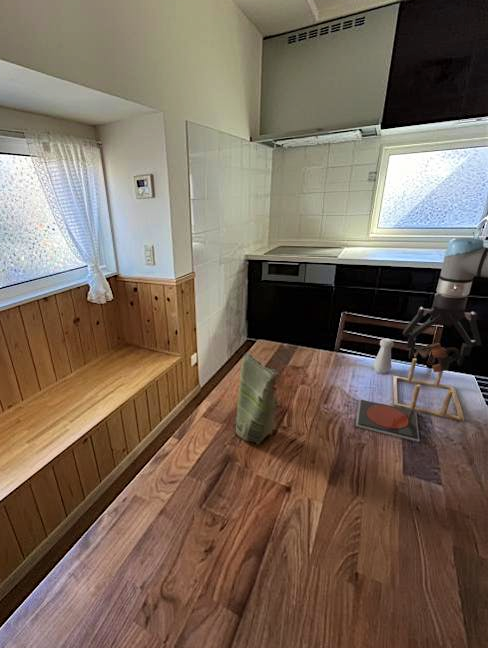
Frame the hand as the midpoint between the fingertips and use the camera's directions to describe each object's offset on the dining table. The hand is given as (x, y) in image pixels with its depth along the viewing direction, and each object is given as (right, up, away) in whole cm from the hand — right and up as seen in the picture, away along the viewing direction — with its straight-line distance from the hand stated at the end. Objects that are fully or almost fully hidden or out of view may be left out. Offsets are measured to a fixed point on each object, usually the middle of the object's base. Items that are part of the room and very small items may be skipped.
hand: (434, 360), depth 105 cm
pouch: (-57, -22, -5) cm, 61 cm away
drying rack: (+2, -13, +6) cm, 14 cm away
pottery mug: (0, -2, +1) cm, 2 cm away
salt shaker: (-4, -6, +23) cm, 24 cm away
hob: (-17, -18, -3) cm, 25 cm away
